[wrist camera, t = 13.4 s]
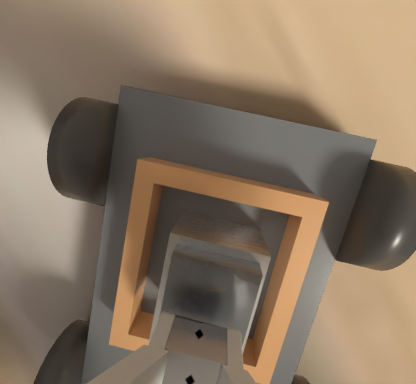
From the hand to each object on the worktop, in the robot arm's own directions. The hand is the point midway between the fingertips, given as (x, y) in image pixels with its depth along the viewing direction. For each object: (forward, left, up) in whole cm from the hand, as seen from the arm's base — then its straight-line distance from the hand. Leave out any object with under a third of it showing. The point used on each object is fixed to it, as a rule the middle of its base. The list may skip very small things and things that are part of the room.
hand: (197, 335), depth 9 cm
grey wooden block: (0, 0, -6) cm, 6 cm away
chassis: (-3, 0, -9) cm, 10 cm away
